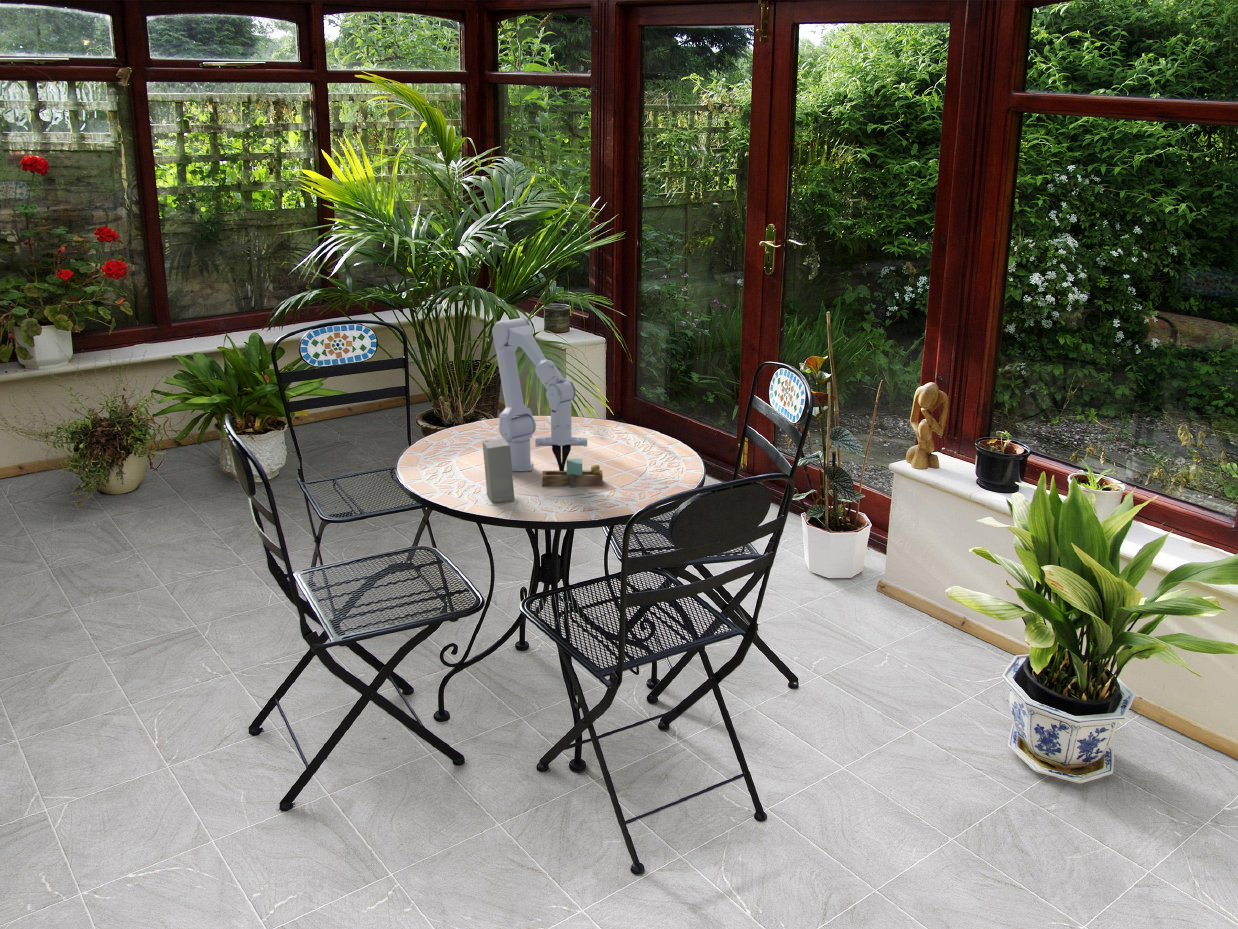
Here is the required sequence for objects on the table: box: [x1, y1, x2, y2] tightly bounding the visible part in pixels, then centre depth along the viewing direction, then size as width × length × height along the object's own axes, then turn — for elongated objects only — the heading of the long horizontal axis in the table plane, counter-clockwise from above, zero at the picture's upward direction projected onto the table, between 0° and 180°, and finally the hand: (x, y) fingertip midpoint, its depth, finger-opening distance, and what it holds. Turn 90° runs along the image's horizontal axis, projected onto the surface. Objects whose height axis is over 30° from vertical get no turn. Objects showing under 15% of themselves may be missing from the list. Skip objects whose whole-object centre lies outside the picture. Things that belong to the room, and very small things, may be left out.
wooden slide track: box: [541, 464, 604, 488], centre depth 313 cm, size 17×7×5 cm, turn 92°
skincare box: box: [482, 438, 515, 504], centre depth 299 cm, size 8×7×16 cm
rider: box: [566, 458, 583, 475], centre depth 312 cm, size 4×4×5 cm
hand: (561, 470), depth 312 cm, fingers closed
